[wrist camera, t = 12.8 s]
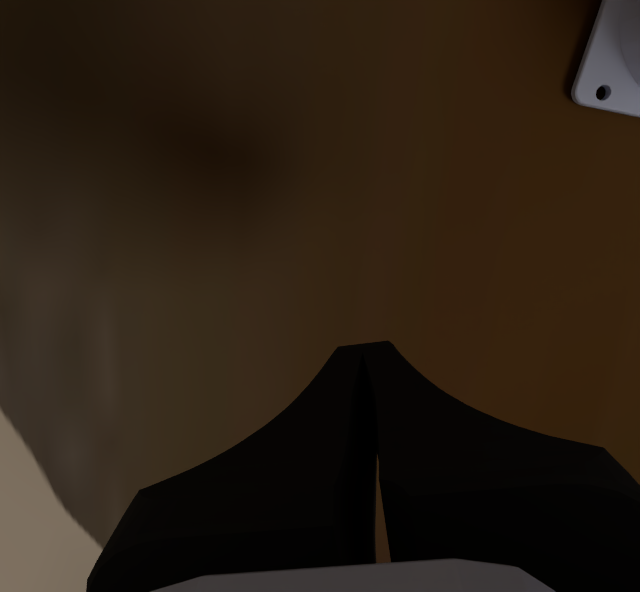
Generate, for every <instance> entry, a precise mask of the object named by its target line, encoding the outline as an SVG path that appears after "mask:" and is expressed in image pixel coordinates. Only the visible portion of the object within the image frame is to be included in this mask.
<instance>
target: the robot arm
mask: <svg viewBox="0 0 640 592" xmlns="http://www.w3.org/2000/svg"><path fill="white" fill-rule="evenodd" d="M600 86H602V87H604V88H605V91H606V92H605V96H604V98H603V99H602V100H599V99H597V97H596V91H597V89H598V88H599V87H600ZM571 95H572V99H573V100H574V102H575V103H577V104H579V105H582V106H587V107H592V108H596V109H601V110H606V111H611V112H616V113H620V114H625V115H630V116H635V117H640V0H602V3H601V6H600V9H599V11H598V14H597V17H596V20H595V23H594V26H593V29H592V32H591V35H590V37H589V40H588V43H587V46H586V49H585V52H584V55H583V58H582V61H581V63H580V66H579V69H578V72H577V75H576V78H575V81H574V84H573V87H572V91H571ZM377 455H378V459H379V482H380V489H381V496H382V503H383V509H384V516H385V523H386V530H387V537H388V544H389V550H390V557H391V562H390V563H376V551H375V517H376V471H377ZM86 592H640V485H639V484H638V483H637V482H636V481H635V479H634V478H633V477H632V476H631V475H630V474H629V473H628V472H627V471H626V470H625V469H624V468H623V467H622V466H621V465H620V464H619V463H618V462H617V461H616V460H615V459H614V458H613V457H612V456H611V455H610V454H609V453H608V451H607V450H606V449H605V448H603V447H598V446H594V445H589V444H584V443H580V442H575V441H570V440H566V439H561V438H557V437H552V436H548V435H544V434H541V433H538V432H535V431H531V430H528V429H525V428H522V427H518V426H515V425H513V424H510V423H507V422H504V421H502V420H499V419H497V418H495V417H492V416H490V415H488V414H485V413H483V412H481V411H478V410H476V409H474V408H472V407H470V406H468V405H466V404H464V403H463V402H461V401H459V400H457V399H456V398H454V397H452V396H450V395H449V394H447V393H445V392H444V391H442V390H441V389H439V388H438V387H437V386H435V385H434V384H433V383H431V382H430V381H429V380H428V379H426V378H425V377H424V376H423V375H422V374H421V373H420V372H418V371H417V370H416V369H415V368H414V367H413V366H412V365H411V364H410V363H409V362H408V361H407V360H406V359H405V358H404V357H403V356H402V355H401V354H400V353H399V352H398V350H397V349H396V348H395V347H394V345H393V344H392V343H391V342H389V341H381V342H373V343H365V344H356V345H348V346H340V347H337V349H336V350H335V351H334V352H333V354H332V355H331V356H330V358H329V359H328V361H327V362H326V363H325V365H324V366H323V367H322V369H321V370H320V371H319V373H318V374H317V375H316V376H315V378H314V379H313V380H312V381H311V383H310V384H309V385H308V386H307V387H306V388H305V389H304V391H303V392H302V393H301V394H300V395H299V396H298V397H297V398H296V399H295V400H294V401H293V402H292V403H291V404H290V405H289V406H288V407H287V408H286V409H285V410H283V411H282V412H281V413H280V414H279V415H278V416H276V417H275V418H274V419H273V420H271V421H270V422H269V423H268V424H266V425H265V426H264V427H262V428H261V429H259V430H258V431H256V432H255V433H253V434H252V435H250V436H249V437H247V438H246V439H244V440H243V441H241V442H240V443H238V444H237V445H235V446H234V447H232V448H230V449H228V450H227V451H225V452H223V453H221V454H220V455H218V456H216V457H214V458H212V459H210V460H208V461H206V462H204V463H202V464H200V465H198V466H196V467H194V468H192V469H190V470H188V471H185V472H183V473H180V474H178V475H176V476H173V477H171V478H168V479H166V480H164V481H161V482H159V483H156V484H154V485H152V486H149V487H146V488H144V489H141V490H139V491H138V493H137V494H136V496H135V497H134V499H133V501H132V502H131V504H130V505H129V507H128V509H127V510H126V512H125V513H124V515H123V517H122V518H121V520H120V522H119V524H118V525H117V527H116V529H115V530H114V532H113V534H112V536H111V537H110V539H109V541H108V543H107V544H106V546H105V548H104V549H103V551H102V553H101V555H100V556H99V558H98V560H97V562H96V563H95V566H94V568H93V569H92V571H91V573H90V576H89V577H88V579H87V590H86Z"/></svg>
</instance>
